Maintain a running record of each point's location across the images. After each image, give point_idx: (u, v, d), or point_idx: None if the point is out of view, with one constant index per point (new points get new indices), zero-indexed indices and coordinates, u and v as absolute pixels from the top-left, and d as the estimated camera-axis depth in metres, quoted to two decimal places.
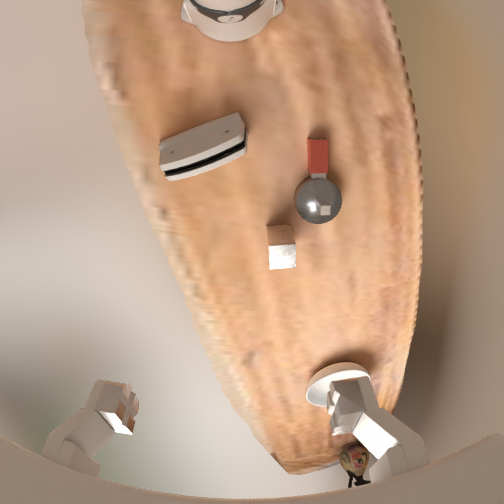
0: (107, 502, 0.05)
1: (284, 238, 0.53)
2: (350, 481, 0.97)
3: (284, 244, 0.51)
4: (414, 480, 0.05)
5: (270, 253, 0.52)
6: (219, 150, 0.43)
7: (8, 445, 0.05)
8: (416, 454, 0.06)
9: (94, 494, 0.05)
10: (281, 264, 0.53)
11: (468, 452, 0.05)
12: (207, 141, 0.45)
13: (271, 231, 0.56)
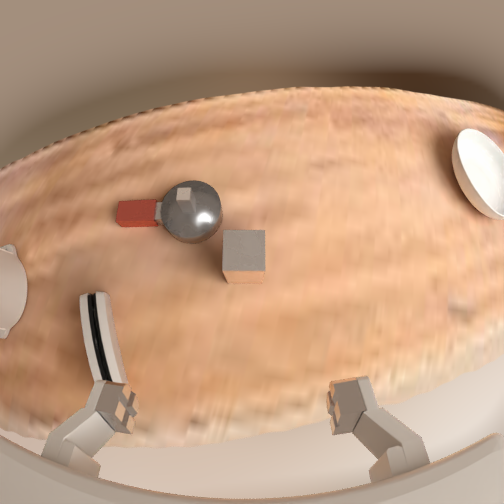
0: (107, 502, 0.05)
1: None
2: None
3: (223, 247, 0.33)
4: (414, 480, 0.05)
5: (235, 268, 0.32)
6: (86, 321, 0.31)
7: (8, 446, 0.05)
8: (416, 454, 0.06)
9: (94, 494, 0.05)
10: (257, 252, 0.33)
11: (468, 452, 0.05)
12: None
13: None
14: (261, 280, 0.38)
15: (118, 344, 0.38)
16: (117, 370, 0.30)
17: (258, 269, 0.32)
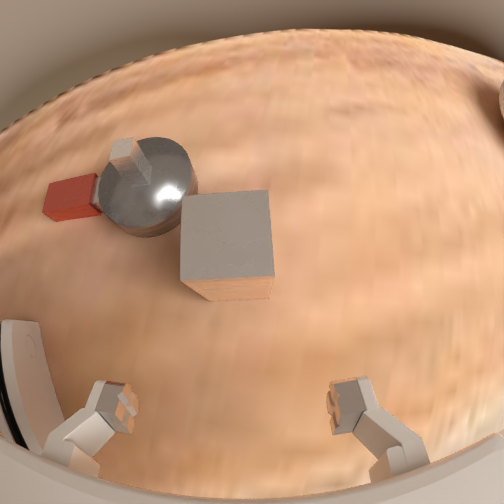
0: (107, 502, 0.05)
1: None
2: None
3: None
4: (414, 480, 0.05)
5: (208, 275, 0.14)
6: None
7: (8, 446, 0.05)
8: (416, 454, 0.06)
9: (94, 494, 0.05)
10: (255, 235, 0.15)
11: (468, 452, 0.05)
12: None
13: None
14: (268, 293, 0.20)
15: (55, 395, 0.20)
16: (38, 445, 0.13)
17: (259, 273, 0.14)
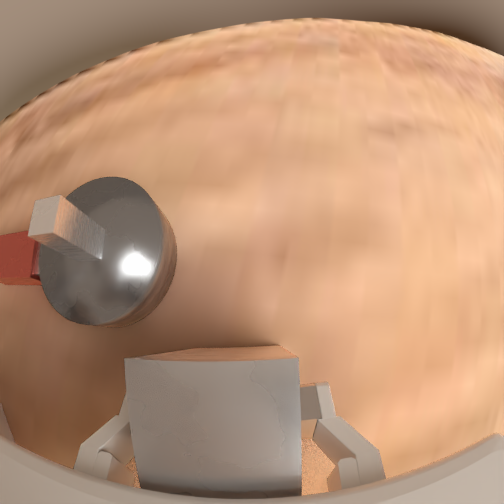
0: (107, 502, 0.05)
1: None
2: None
3: None
4: (414, 480, 0.05)
5: None
6: None
7: (8, 446, 0.05)
8: (371, 468, 0.06)
9: (94, 494, 0.05)
10: (271, 450, 0.06)
11: (468, 452, 0.05)
12: None
13: None
14: None
15: None
16: None
17: None
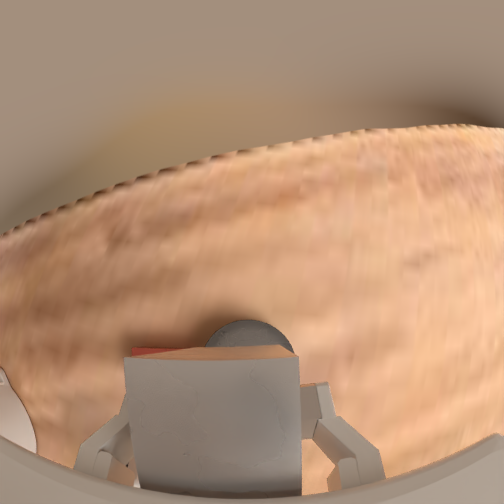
0: (107, 502, 0.05)
1: None
2: None
3: None
4: (414, 480, 0.05)
5: None
6: None
7: (8, 446, 0.05)
8: (371, 468, 0.06)
9: (94, 494, 0.05)
10: (271, 449, 0.06)
11: (468, 452, 0.05)
12: None
13: None
14: None
15: None
16: None
17: None
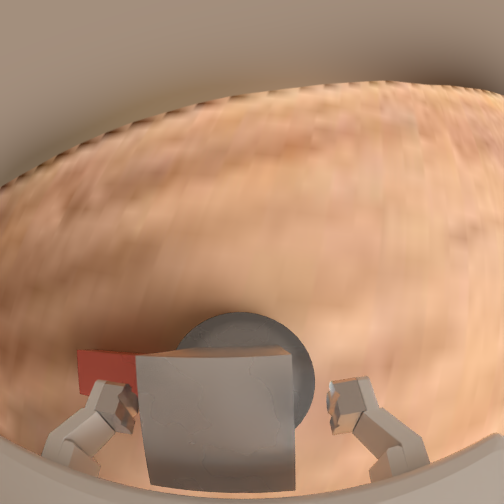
0: (107, 502, 0.05)
1: None
2: None
3: None
4: (414, 480, 0.05)
5: (192, 486, 0.07)
6: None
7: (8, 446, 0.05)
8: (416, 454, 0.06)
9: (94, 494, 0.05)
10: (267, 438, 0.07)
11: (468, 452, 0.05)
12: None
13: None
14: None
15: None
16: None
17: (271, 488, 0.07)
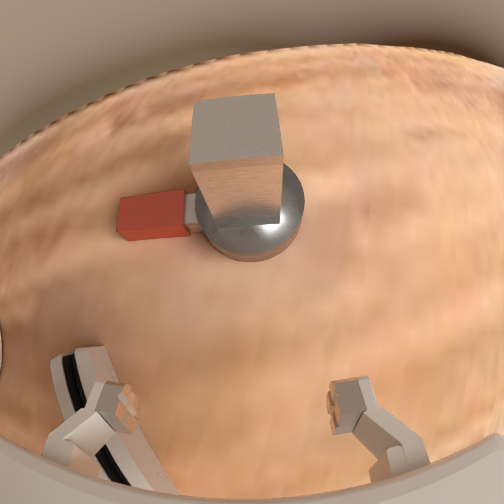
0: (107, 502, 0.05)
1: None
2: None
3: None
4: (414, 480, 0.05)
5: (217, 157, 0.14)
6: (68, 408, 0.14)
7: (8, 446, 0.05)
8: (416, 454, 0.06)
9: (94, 494, 0.05)
10: (264, 125, 0.14)
11: (468, 452, 0.05)
12: None
13: None
14: (278, 209, 0.20)
15: (137, 422, 0.21)
16: (145, 482, 0.13)
17: (268, 154, 0.14)
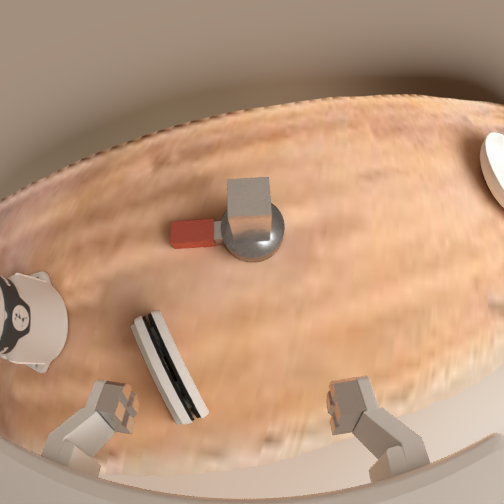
0: (107, 502, 0.05)
1: None
2: None
3: None
4: (414, 480, 0.05)
5: (241, 214, 0.31)
6: (150, 344, 0.31)
7: (8, 446, 0.05)
8: (416, 454, 0.06)
9: (95, 494, 0.05)
10: (263, 197, 0.32)
11: (468, 452, 0.05)
12: None
13: None
14: (269, 234, 0.37)
15: None
16: (194, 386, 0.30)
17: (264, 213, 0.31)
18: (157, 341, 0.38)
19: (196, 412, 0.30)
